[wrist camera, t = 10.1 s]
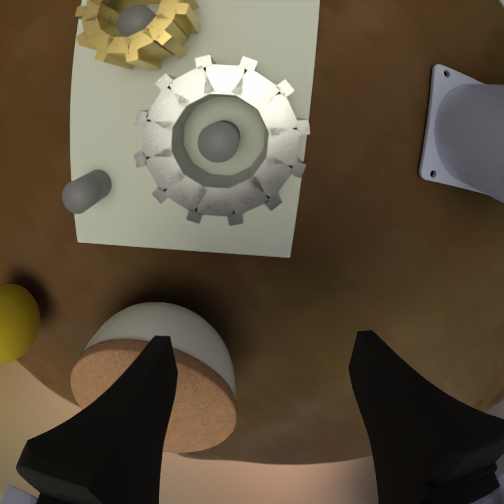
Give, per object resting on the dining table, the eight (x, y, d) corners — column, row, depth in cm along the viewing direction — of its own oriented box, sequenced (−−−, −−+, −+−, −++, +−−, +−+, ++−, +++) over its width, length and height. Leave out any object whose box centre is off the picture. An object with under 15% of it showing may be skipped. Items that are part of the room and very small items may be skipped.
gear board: (317, -23, 13) (337, -55, 9) (287, 249, 21) (298, 288, 16) (95, -20, 12) (60, -43, 8) (85, 235, 20) (51, 267, 16)
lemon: (-1, 268, 21) (-54, 319, 14) (41, 265, 21) (-16, 324, 14) (21, 320, 24) (-21, 376, 16) (63, 321, 23) (22, 387, 16)
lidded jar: (89, 335, 24) (46, 419, 16) (146, 246, 21) (91, 337, 12) (190, 395, 27) (178, 483, 19) (267, 329, 24) (276, 433, 15)
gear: (305, 72, 15) (317, 65, 12) (289, 212, 18) (297, 231, 16) (155, 63, 15) (138, 56, 12) (150, 202, 18) (134, 219, 15)
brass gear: (210, -12, 13) (201, -40, 9) (189, 74, 15) (173, 64, 11) (119, -13, 12) (91, -35, 8) (98, 69, 14) (64, 63, 11)
